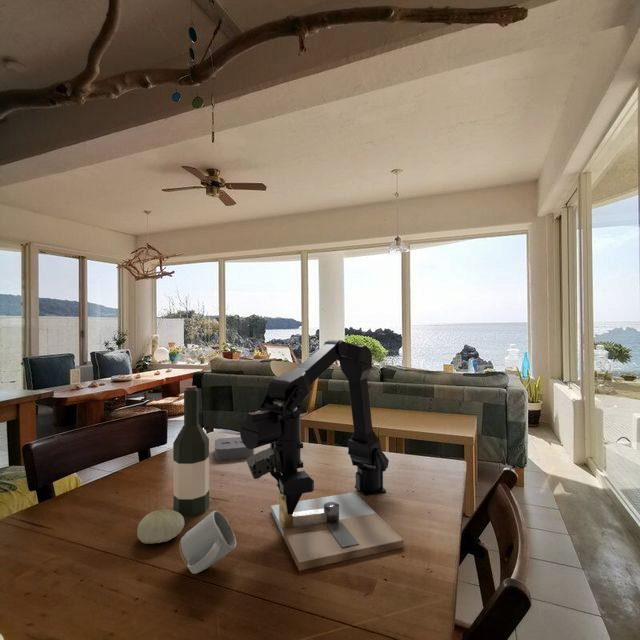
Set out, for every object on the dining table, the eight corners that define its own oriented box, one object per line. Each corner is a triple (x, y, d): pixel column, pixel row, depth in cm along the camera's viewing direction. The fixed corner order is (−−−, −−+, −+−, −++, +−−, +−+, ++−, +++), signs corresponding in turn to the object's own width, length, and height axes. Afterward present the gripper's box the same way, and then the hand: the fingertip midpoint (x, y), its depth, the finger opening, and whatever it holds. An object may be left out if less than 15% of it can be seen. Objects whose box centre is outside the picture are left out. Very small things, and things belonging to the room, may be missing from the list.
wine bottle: (216, 505, 99) (215, 385, 99) (192, 520, 91) (192, 390, 91) (190, 499, 102) (190, 383, 102) (165, 513, 94) (165, 388, 95)
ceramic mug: (203, 570, 75) (185, 532, 78) (240, 544, 76) (222, 507, 79) (181, 585, 65) (162, 541, 68) (225, 555, 66) (204, 512, 69)
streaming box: (215, 463, 129) (215, 449, 129) (214, 451, 141) (214, 439, 141) (254, 459, 132) (254, 446, 132) (250, 448, 144) (250, 436, 144)
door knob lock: (336, 514, 89) (336, 485, 89) (341, 521, 86) (340, 491, 86) (278, 521, 86) (278, 491, 86) (280, 529, 83) (280, 498, 83)
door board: (354, 497, 102) (354, 491, 102) (403, 547, 80) (403, 538, 80) (270, 511, 95) (270, 504, 95) (299, 570, 72) (299, 561, 72)
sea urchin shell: (171, 538, 78) (145, 508, 79) (148, 566, 79) (122, 536, 80) (195, 517, 87) (171, 490, 88) (174, 542, 88) (150, 515, 89)
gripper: (242, 428, 91) (243, 496, 91) (257, 456, 73) (258, 540, 73) (289, 424, 94) (290, 489, 94) (314, 449, 77) (315, 528, 77)
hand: (287, 509), depth 85 cm, fingers open, 4 cm apart
